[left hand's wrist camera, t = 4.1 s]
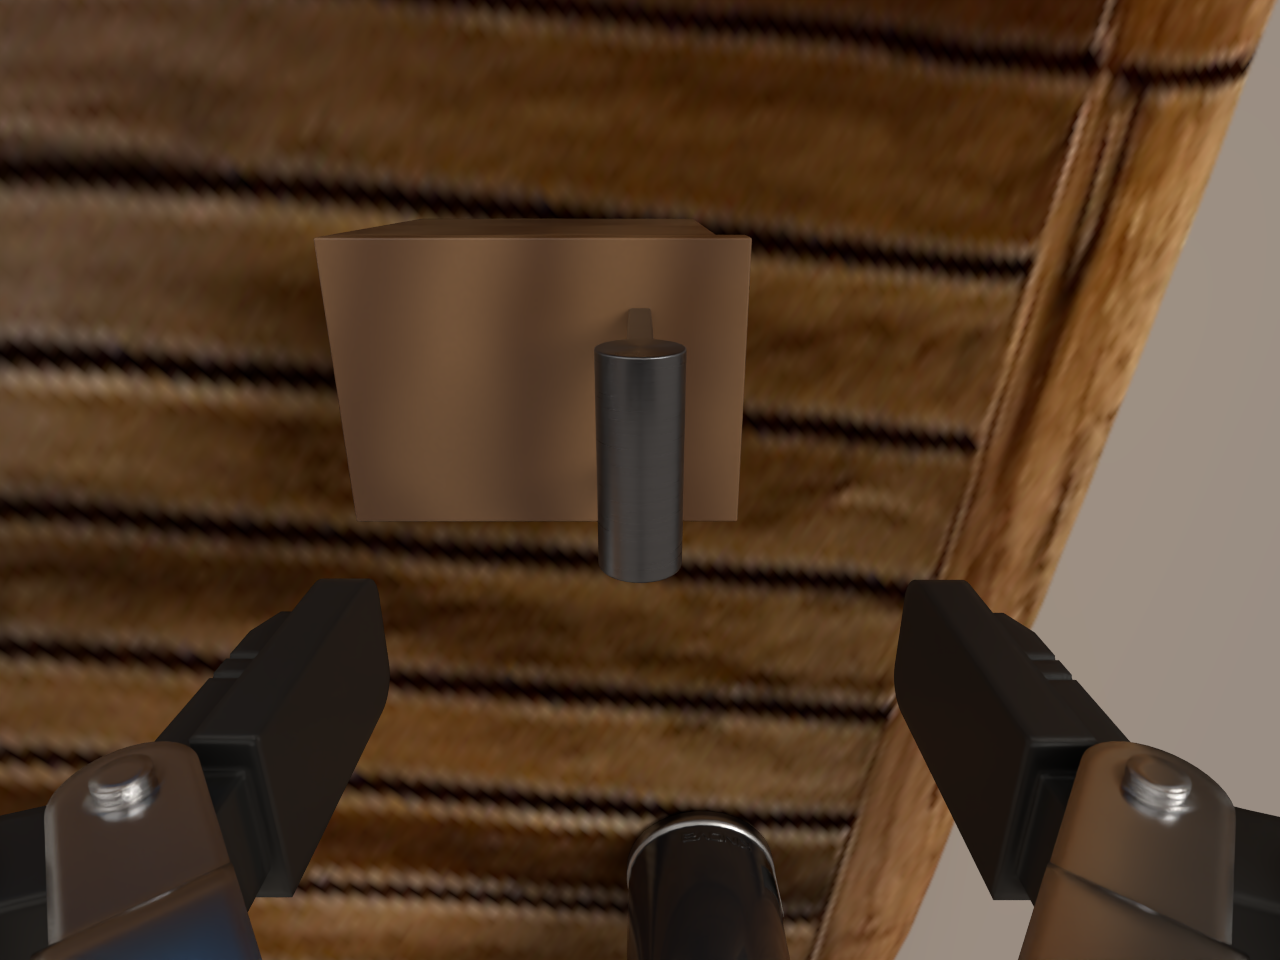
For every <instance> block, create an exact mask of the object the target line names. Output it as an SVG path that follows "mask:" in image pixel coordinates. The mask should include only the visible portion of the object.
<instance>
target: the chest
mask: <svg viewBox="0 0 1280 960" xmlns="http://www.w3.org/2000/svg"><path fill="white" fill-rule="evenodd" d="M333 235H715V234H713V233H712V232H711V231H709V230H708V229H706V228H705V227H704V226H702V225H701V224H699V223H698V222H696V221H695V220H693V219H419V220H413V221H407V222H401V223H395V224H390V225H384V226H378V227H373V228H367V229H361V230H356V231H350V232H344V233H339V234H333Z"/></svg>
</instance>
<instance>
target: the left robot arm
mask: <svg viewBox="0 0 1280 960" xmlns="http://www.w3.org/2000/svg"><path fill="white" fill-rule="evenodd" d="M389 680H390V670H389V661H388V654H387V647H386V640H385V633H384V627H383V620H382V613H381V606H380V599H379V593H378V589H377V586H376V584H375V582H374V581H373V580H372V579H319V580H318V581H317V582H316V583H315V584H314V585H313V586H312V587H311V589H310V590H309V591H308V592H307V594H306V595H305V596H304V597H303V598H302V600H301V601H300V602H299V603H298V605H297V606H296V607H295V608H294V610H293V611H292V612H280V613H278V614H277V615H275V616H273V617H272V618H270V619H269V620H267V621H265V622H264V623H262V624H261V625H259V626H257V627H256V628H254V629H253V630H251V631H250V632H249V633H248V634H247V635H246V636H245V638H244V639H243V640H242V641H241V642H240V643H239V645H238V646H237V647H236V648H235V649H234V650H233V651H232V653H231V654H230V659H226V660H225V661H224V662H223V663H222V664H221V665H220V666H219V668H218V669H217V670H216V671H215V672H214V677H213V678H209V679H208V680H207V681H206V683H205V684H204V685H203V686H202V687H201V688H200V690H199V691H198V692H197V693H196V694H195V695H194V697H193V698H192V699H191V700H190V701H189V702H188V703H187V705H186V706H185V707H184V708H183V709H182V710H181V712H180V713H179V714H178V715H177V716H176V717H175V718H174V720H173V721H172V722H171V723H170V724H169V725H168V727H167V728H166V729H165V730H164V731H163V732H162V733H161V735H160V736H159V737H158V738H157V739H156V740H155V742H148V743H142V744H138V745H133V746H130V747H126V748H123V749H120V750H117V751H115V752H112V753H110V754H107V755H105V756H103V757H101V758H99V759H97V760H95V761H93V762H92V763H90V764H88V765H86V766H85V767H83V768H82V769H80V770H79V771H77V772H76V773H75V774H73V775H72V776H71V777H70V778H68V779H67V780H66V781H65V782H64V783H63V784H62V785H61V786H60V787H59V788H58V789H57V790H56V791H55V792H54V794H53V795H52V797H51V798H50V800H49V802H48V804H47V806H42V807H38V808H33V809H29V810H24V811H20V812H15V813H11V814H6V815H2V816H0V960H262V958H261V955H260V952H259V949H258V945H257V942H256V939H255V936H254V932H253V929H252V926H251V922H250V919H249V916H248V913H247V912H248V910H249V909H250V907H251V905H252V903H253V901H254V899H255V897H293V895H294V893H295V891H296V888H297V886H298V884H299V882H300V880H301V878H302V876H303V874H304V872H305V870H306V868H307V866H308V864H309V862H310V860H311V858H312V855H313V853H314V851H315V849H316V847H317V845H318V843H319V841H320V839H321V837H322V835H323V833H324V831H325V829H326V827H327V825H328V823H329V820H330V818H331V816H332V814H333V812H334V810H335V808H336V806H337V804H338V802H339V800H340V798H341V796H342V794H343V792H344V790H345V788H346V785H347V783H348V781H349V779H350V777H351V775H352V773H353V771H354V769H355V767H356V765H357V763H358V761H359V759H360V757H361V755H362V752H363V750H364V748H365V746H366V744H367V742H368V740H369V738H370V736H371V734H372V732H373V730H374V728H375V726H376V724H377V722H378V720H379V717H380V715H381V713H382V711H383V709H384V707H385V704H386V700H387V696H388V690H389ZM894 684H895V693H896V698H897V702H898V705H899V708H900V711H901V713H902V715H903V717H904V719H905V721H906V723H907V725H908V727H909V729H910V731H911V733H912V735H913V737H914V739H915V741H916V744H917V746H918V748H919V750H920V752H921V754H922V756H923V758H924V760H925V762H926V764H927V766H928V768H929V770H930V772H931V774H932V776H933V778H934V780H935V782H936V784H937V786H938V788H939V790H940V792H941V794H942V796H943V798H944V800H945V803H946V805H947V807H948V809H949V811H950V813H951V815H952V817H953V819H954V821H955V823H956V825H957V827H958V829H959V831H960V833H961V835H962V837H963V839H964V841H965V843H966V845H967V847H968V849H969V851H970V853H971V855H972V857H973V859H974V862H975V864H976V866H977V868H978V870H979V872H980V874H981V876H982V878H983V880H984V882H985V884H986V886H987V888H988V890H989V892H990V894H991V896H992V898H993V900H1031V902H1032V904H1033V906H1034V909H1033V913H1032V916H1031V919H1030V922H1029V926H1028V929H1027V932H1026V936H1025V939H1024V942H1023V945H1022V949H1021V952H1020V955H1019V958H1018V960H1280V817H1277V816H1273V815H1268V814H1264V813H1259V812H1255V811H1250V810H1246V809H1242V808H1238V807H1234V806H1233V804H1232V802H1231V800H1230V798H1229V797H1228V795H1227V794H1226V792H1225V791H1224V790H1223V789H1222V788H1221V787H1220V786H1219V785H1218V784H1217V783H1216V782H1215V781H1214V780H1213V779H1212V778H1210V777H1209V776H1208V775H1207V774H1205V773H1204V772H1203V771H1201V770H1200V769H1198V768H1197V767H1195V766H1194V765H1192V764H1190V763H1188V762H1187V761H1185V760H1183V759H1181V758H1179V757H1177V756H1175V755H1173V754H1170V753H1168V752H1165V751H1163V750H1160V749H1157V748H1154V747H1150V746H1147V745H1142V744H1138V743H1132V742H1130V741H1129V740H1128V739H1127V738H1126V737H1125V735H1124V734H1123V733H1122V732H1121V731H1120V730H1119V729H1118V727H1117V726H1116V725H1115V724H1114V723H1113V722H1112V720H1111V719H1110V718H1109V717H1108V716H1107V715H1106V714H1105V712H1104V711H1103V710H1102V709H1101V708H1100V707H1099V706H1098V704H1097V703H1096V702H1095V701H1094V700H1093V699H1092V698H1091V696H1090V695H1089V694H1088V693H1087V692H1086V691H1085V690H1084V688H1083V687H1082V686H1081V685H1080V684H1079V683H1078V682H1077V681H1076V680H1072V675H1071V674H1070V672H1069V671H1068V670H1067V669H1066V668H1065V667H1064V666H1063V664H1062V663H1061V662H1060V661H1059V660H1055V655H1054V654H1053V653H1052V652H1051V651H1050V650H1049V648H1048V647H1047V646H1046V645H1045V644H1044V643H1043V642H1042V640H1041V639H1040V638H1039V637H1038V636H1037V635H1036V634H1035V633H1034V632H1033V631H1031V630H1030V629H1028V628H1027V627H1025V626H1023V625H1022V624H1020V623H1019V622H1017V621H1015V620H1014V619H1012V618H1011V617H1009V616H1007V615H1006V614H1004V613H992V611H991V610H990V609H989V608H988V606H987V605H986V604H985V603H984V601H983V600H982V599H981V598H980V597H979V595H978V594H977V593H976V592H975V590H974V589H973V588H972V587H971V586H970V584H969V583H968V582H966V581H965V580H913V581H911V582H910V584H909V585H908V587H907V590H906V594H905V600H904V607H903V614H902V621H901V627H900V634H899V641H898V647H897V654H896V661H895V669H894ZM775 879H776V877H775V870H774V864H773V859H772V855H771V851H770V848H769V846H768V844H767V842H766V840H765V839H764V838H763V836H762V835H761V834H760V833H759V832H758V831H757V830H756V829H755V828H754V827H752V826H751V825H749V824H748V823H746V822H744V821H743V820H741V819H738V818H736V817H733V816H731V815H727V814H724V813H718V812H711V811H693V812H685V813H680V814H677V815H673V816H670V817H667V818H665V819H663V820H661V821H659V822H657V823H655V824H653V825H652V826H651V827H649V828H648V829H647V830H645V831H644V832H643V833H642V834H641V835H640V836H639V837H638V839H637V840H636V841H635V843H634V845H633V846H632V848H631V851H630V853H629V857H628V862H627V886H628V934H627V960H790V957H789V952H788V947H787V941H786V936H785V931H784V926H783V921H782V915H781V909H780V904H779V899H778V894H777V889H776V884H775ZM776 883H777V882H776ZM777 888H778V886H777ZM778 892H779V891H778ZM779 897H780V895H779ZM780 902H781V900H780ZM781 906H782V905H781ZM782 911H783V910H782Z"/></svg>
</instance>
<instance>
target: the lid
mask: <svg viewBox="0 0 1280 960" xmlns="http://www.w3.org/2000/svg"><path fill="white" fill-rule="evenodd" d="M314 244H315V250H316V257H317V263H318V270H319V276H320V283H321V290H322V296H323V303H324V309H325V316H326V322H327V329H328V336H329V342H330V349H331V355H332V362H333V368H334V375H335V382H336V388H337V395H338V401H339V408H340V414H341V421H342V428H343V434H344V441H345V447H346V454H347V460H348V467H349V473H350V480H351V487H352V493H353V500H354V506H355V513H356V519H357V521H598V550H599V566H600V568H601V570H602V571H603V572H604V573H605V574H607V575H608V576H610V577H612V578H615V579H618V580H621V581H626V582H634V583H647V582H655V581H659V580H663V579H666V578H668V577H670V576H672V575H674V574H675V573H676V572H677V571H678V570H679V569H680V567H681V564H682V528H683V521H737V512H738V493H739V474H740V455H741V436H742V417H743V397H744V378H745V359H746V340H747V321H748V302H749V283H750V263H751V244H752V239H751V238H750V237H748V236H746V235H328V236H322V237H316V238H314Z"/></svg>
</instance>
